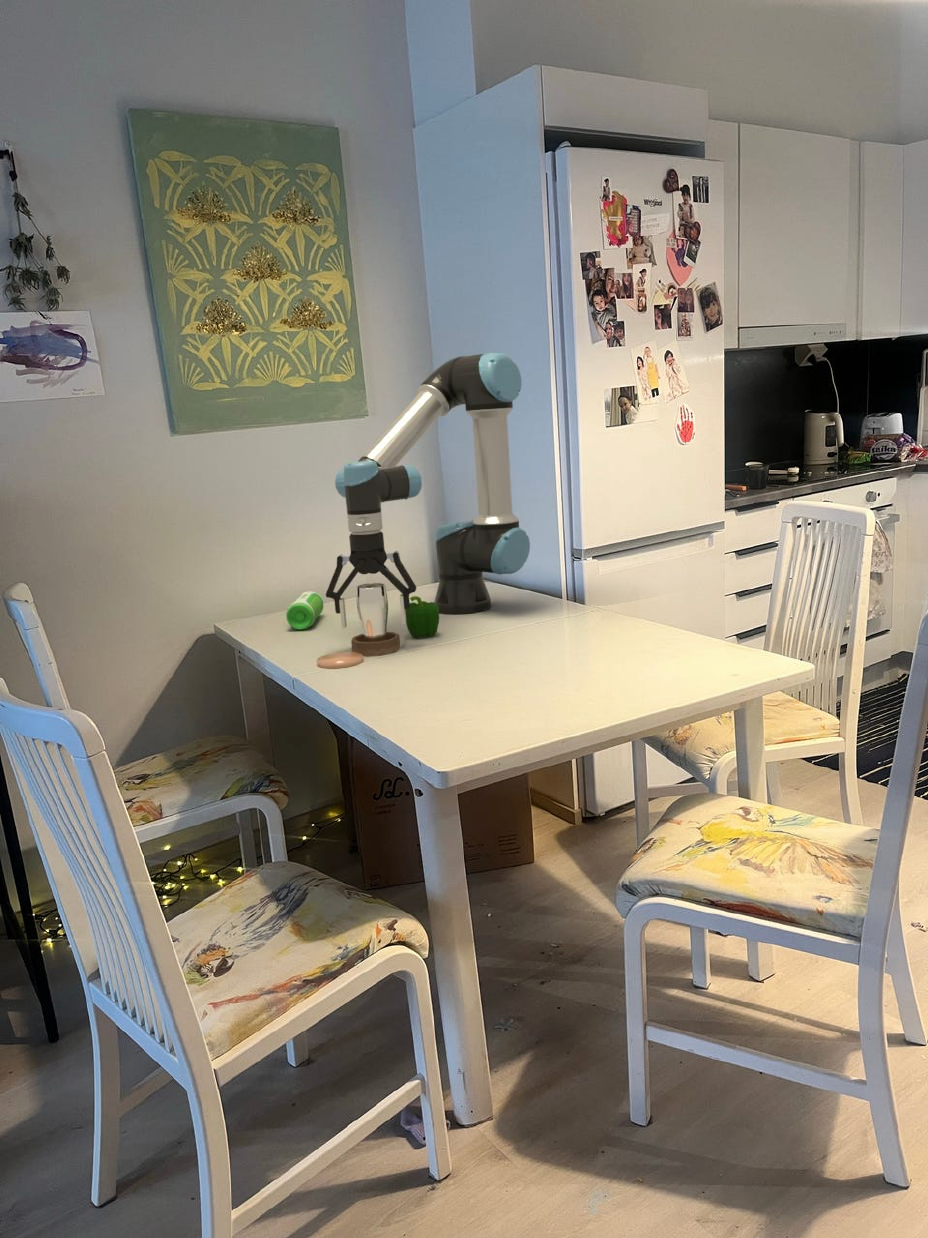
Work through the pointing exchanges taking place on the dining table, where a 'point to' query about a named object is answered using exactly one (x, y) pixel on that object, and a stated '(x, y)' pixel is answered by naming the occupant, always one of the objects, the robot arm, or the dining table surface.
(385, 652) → the walnut collar
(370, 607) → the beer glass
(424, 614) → the bell pepper
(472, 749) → the dining table surface
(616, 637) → the dining table surface
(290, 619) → the speaker
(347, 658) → the pinkish-brown smooth disc
